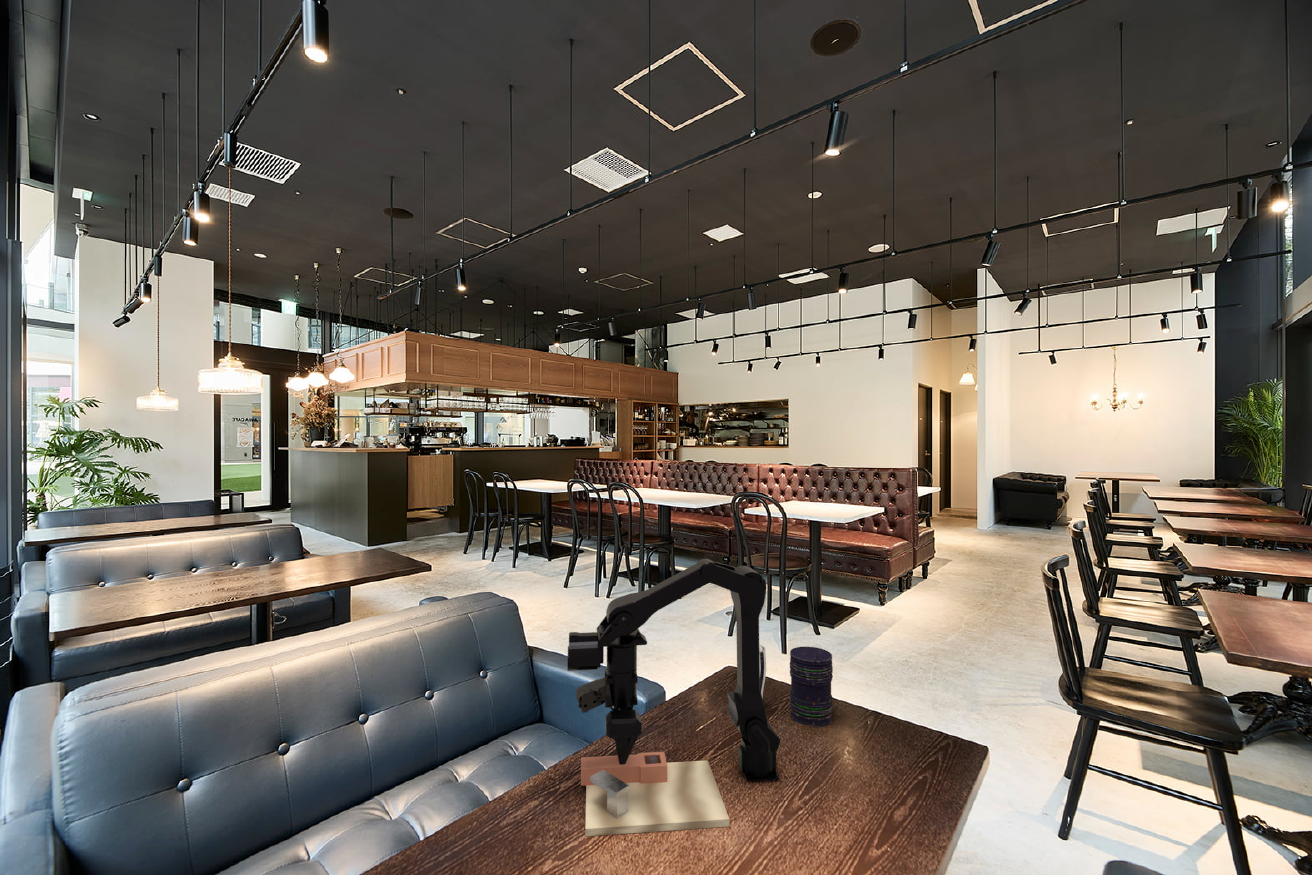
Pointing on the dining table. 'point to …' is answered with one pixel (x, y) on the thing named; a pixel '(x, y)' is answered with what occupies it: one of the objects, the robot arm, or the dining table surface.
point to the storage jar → (811, 686)
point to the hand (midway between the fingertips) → (621, 750)
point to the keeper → (613, 792)
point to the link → (626, 768)
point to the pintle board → (661, 803)
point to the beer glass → (762, 667)
